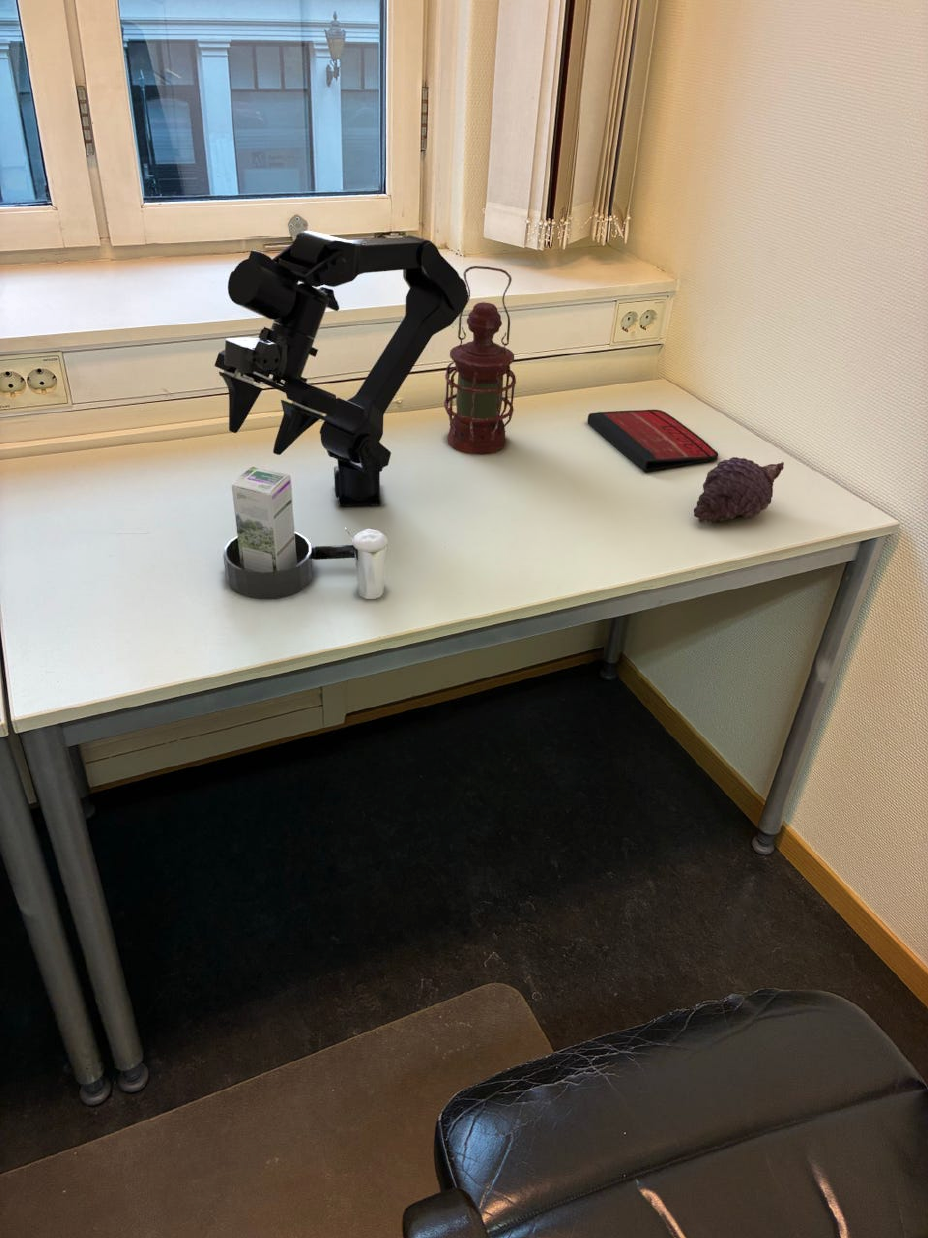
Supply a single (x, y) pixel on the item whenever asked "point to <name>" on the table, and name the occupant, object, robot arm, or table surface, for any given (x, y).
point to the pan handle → (332, 552)
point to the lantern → (480, 381)
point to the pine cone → (736, 490)
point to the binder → (652, 438)
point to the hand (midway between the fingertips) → (254, 442)
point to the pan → (269, 573)
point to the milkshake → (370, 562)
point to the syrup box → (264, 520)
